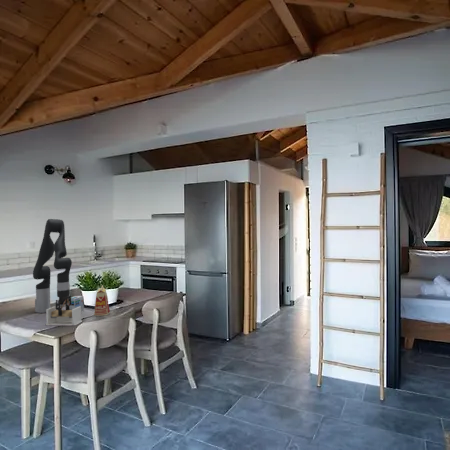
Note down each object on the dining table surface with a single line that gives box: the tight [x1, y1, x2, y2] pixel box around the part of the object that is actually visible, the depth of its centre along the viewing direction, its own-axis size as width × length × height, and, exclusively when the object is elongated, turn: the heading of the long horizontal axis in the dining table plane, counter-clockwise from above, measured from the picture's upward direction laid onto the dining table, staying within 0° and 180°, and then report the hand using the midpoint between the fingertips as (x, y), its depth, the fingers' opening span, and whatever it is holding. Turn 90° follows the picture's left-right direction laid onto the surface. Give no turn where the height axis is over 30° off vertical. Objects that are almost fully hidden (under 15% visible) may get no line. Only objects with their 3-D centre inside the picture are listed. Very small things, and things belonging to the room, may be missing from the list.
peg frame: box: [45, 305, 83, 326], centre depth 228 cm, size 20×9×10 cm, turn 84°
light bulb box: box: [69, 295, 85, 312], centre depth 258 cm, size 11×7×11 cm, turn 168°
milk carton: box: [93, 285, 111, 317], centre depth 249 cm, size 9×9×20 cm
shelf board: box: [52, 309, 72, 317], centre depth 228 cm, size 14×5×3 cm, turn 84°
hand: (63, 313), depth 228 cm, fingers open, 8 cm apart
